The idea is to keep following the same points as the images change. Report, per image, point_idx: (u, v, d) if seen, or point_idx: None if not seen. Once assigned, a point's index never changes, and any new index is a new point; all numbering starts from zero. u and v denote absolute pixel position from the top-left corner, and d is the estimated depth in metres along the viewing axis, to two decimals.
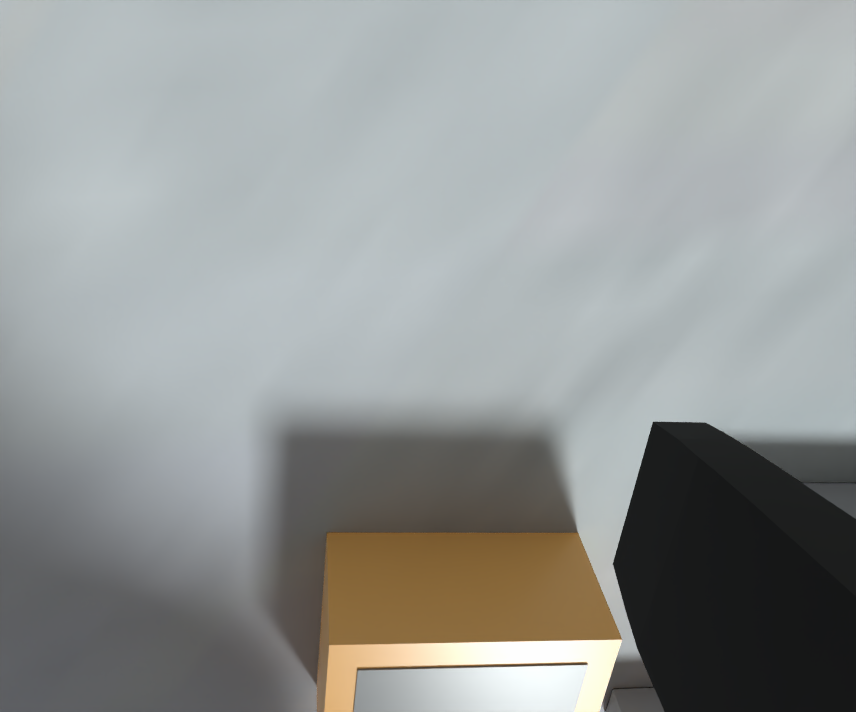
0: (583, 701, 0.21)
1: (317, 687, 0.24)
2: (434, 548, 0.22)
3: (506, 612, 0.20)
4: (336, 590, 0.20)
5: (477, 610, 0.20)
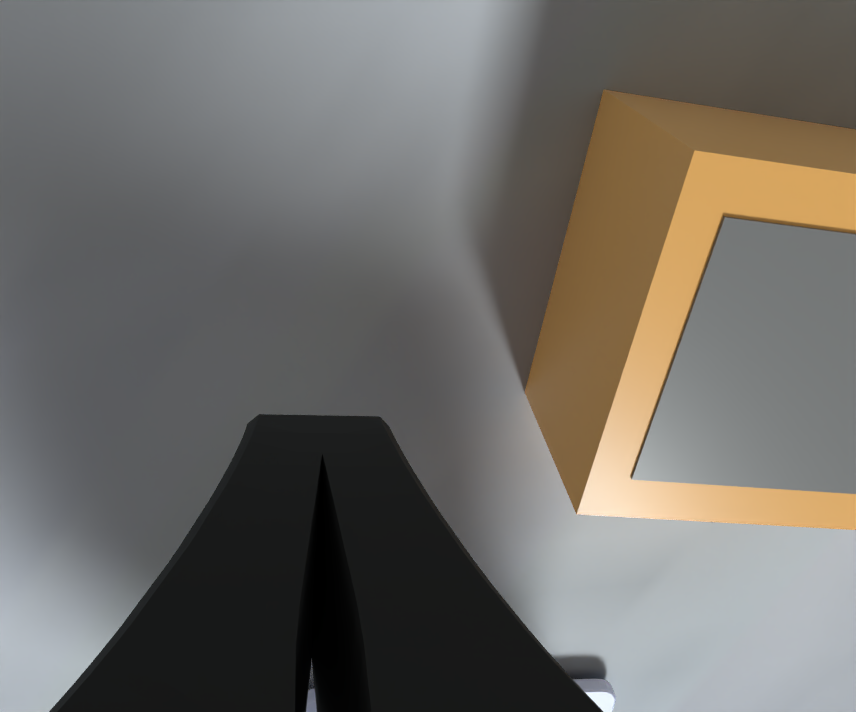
0: None
1: (536, 383, 0.16)
2: (773, 122, 0.14)
3: None
4: (662, 121, 0.12)
5: None
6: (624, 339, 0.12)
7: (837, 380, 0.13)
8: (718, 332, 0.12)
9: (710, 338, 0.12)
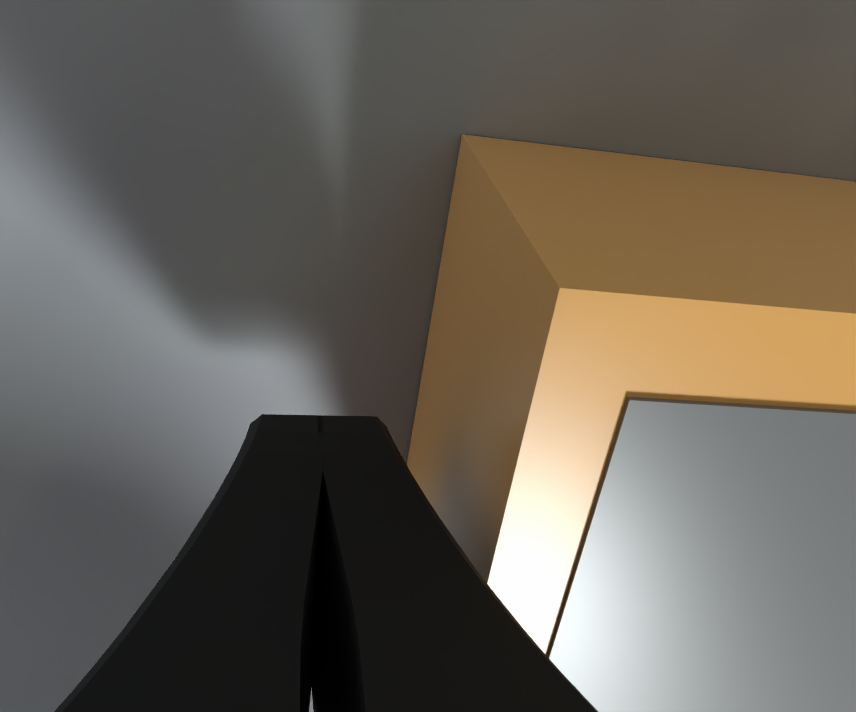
0: None
1: None
2: (734, 185, 0.09)
3: None
4: (531, 206, 0.07)
5: None
6: None
7: (845, 630, 0.07)
8: (634, 576, 0.07)
9: (621, 586, 0.07)
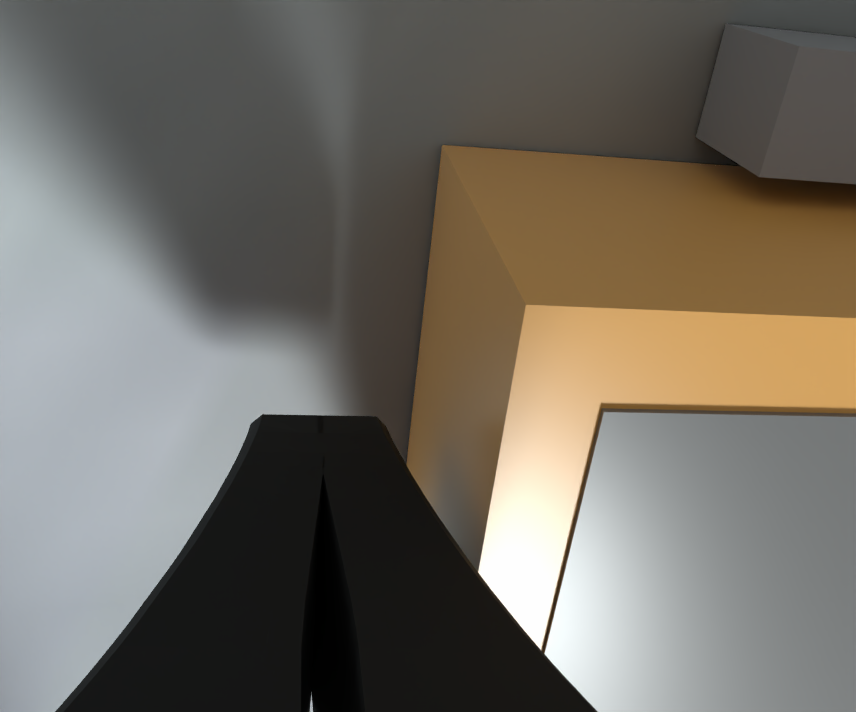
0: None
1: None
2: (717, 185, 0.09)
3: None
4: (504, 219, 0.07)
5: None
6: None
7: (840, 630, 0.07)
8: (621, 584, 0.07)
9: (609, 594, 0.07)
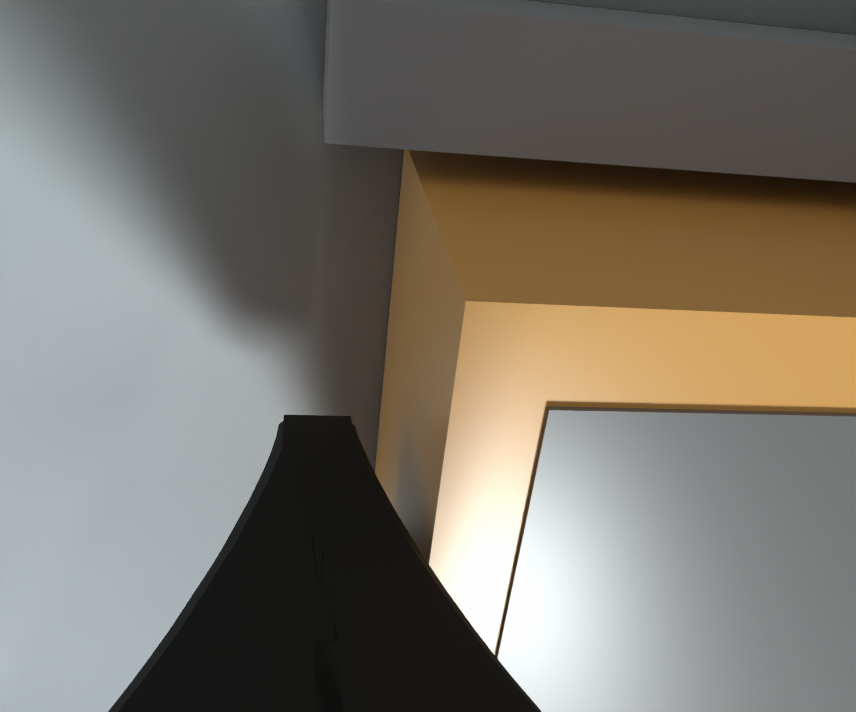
0: None
1: None
2: (681, 181, 0.09)
3: None
4: (457, 214, 0.07)
5: None
6: None
7: (798, 630, 0.07)
8: (575, 585, 0.07)
9: (561, 594, 0.07)
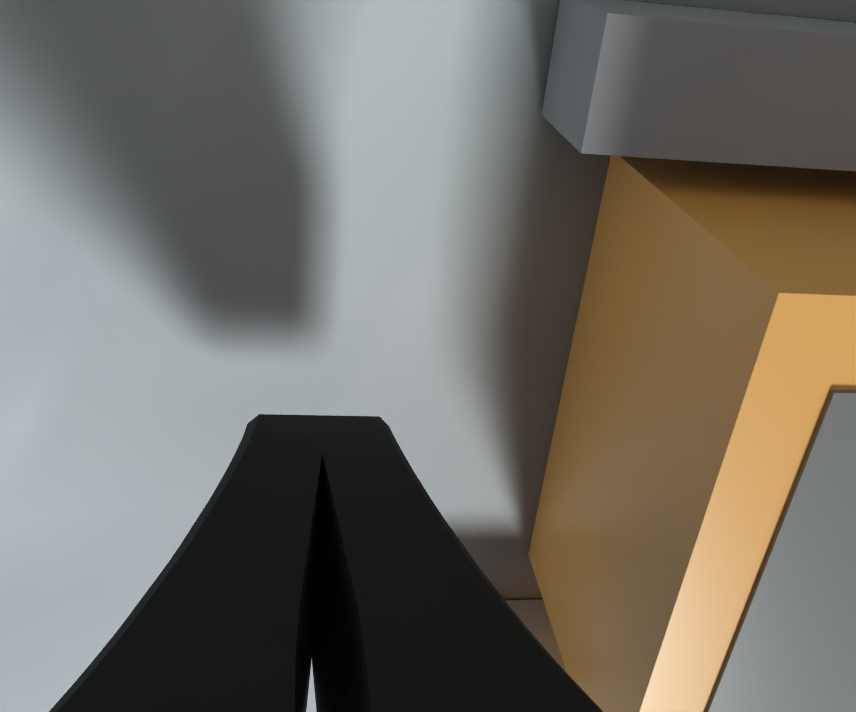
0: None
1: (542, 552, 0.11)
2: None
3: None
4: (709, 214, 0.07)
5: None
6: (668, 567, 0.07)
7: None
8: (824, 556, 0.07)
9: (810, 566, 0.07)
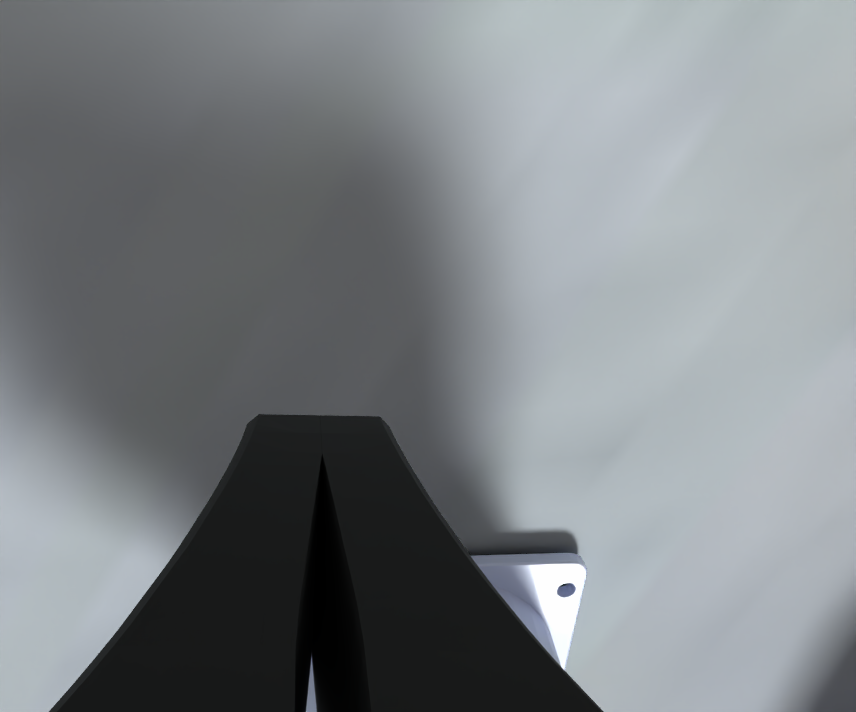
0: None
1: None
2: None
3: None
4: None
5: None
6: None
7: None
8: None
9: None
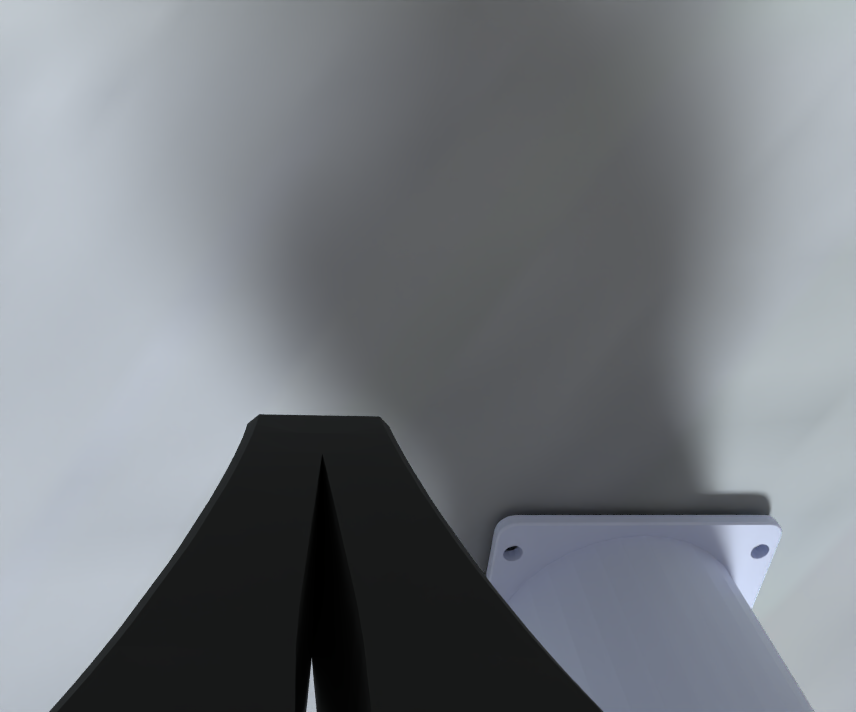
0: None
1: None
2: None
3: None
4: None
5: None
6: None
7: None
8: None
9: None
